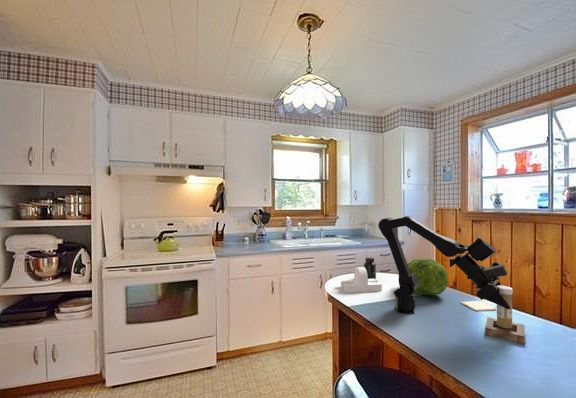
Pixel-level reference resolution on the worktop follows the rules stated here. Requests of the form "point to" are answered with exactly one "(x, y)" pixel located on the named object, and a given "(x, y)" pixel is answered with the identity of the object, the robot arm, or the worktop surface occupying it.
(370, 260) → the supplement bottle
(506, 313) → the sprinkles bottle
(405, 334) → the worktop surface
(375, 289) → the bracket
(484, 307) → the pad
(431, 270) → the lettuce
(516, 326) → the socket block
